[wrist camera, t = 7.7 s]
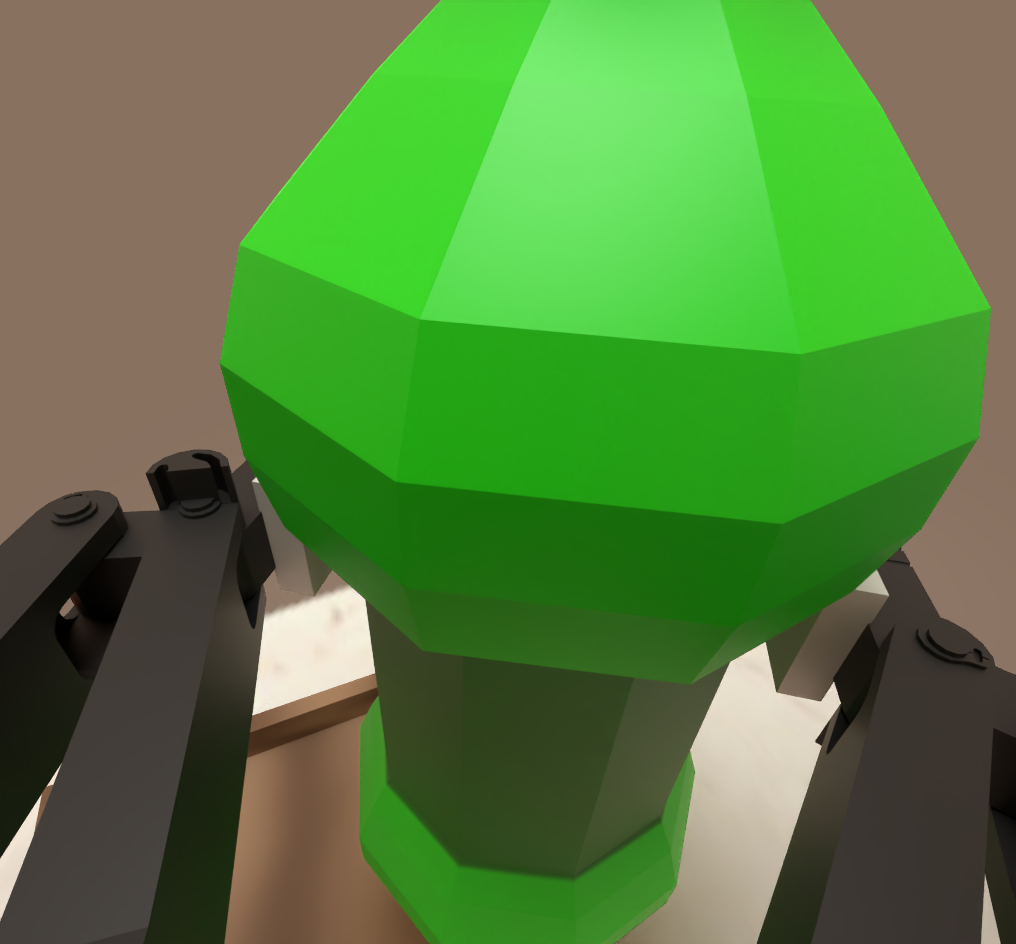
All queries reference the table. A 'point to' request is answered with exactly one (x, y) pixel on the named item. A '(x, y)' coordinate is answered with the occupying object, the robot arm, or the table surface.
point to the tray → (307, 831)
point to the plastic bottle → (591, 416)
